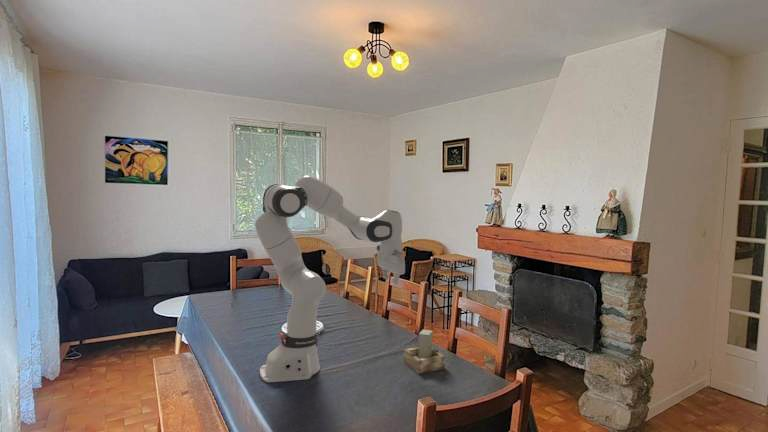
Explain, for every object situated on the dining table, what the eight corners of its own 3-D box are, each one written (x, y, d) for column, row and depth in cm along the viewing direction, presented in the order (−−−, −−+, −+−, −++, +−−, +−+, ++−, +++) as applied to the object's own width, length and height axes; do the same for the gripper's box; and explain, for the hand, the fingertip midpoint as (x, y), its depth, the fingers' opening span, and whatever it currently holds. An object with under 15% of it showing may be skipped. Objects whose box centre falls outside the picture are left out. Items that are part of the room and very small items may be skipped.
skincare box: (428, 365, 161) (429, 335, 161) (417, 363, 163) (418, 333, 162) (432, 359, 167) (433, 330, 166) (421, 357, 169) (422, 328, 168)
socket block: (417, 373, 157) (418, 359, 156) (403, 361, 167) (403, 348, 167) (444, 368, 161) (445, 354, 161) (429, 356, 172) (429, 344, 172)
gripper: (409, 251, 164) (408, 286, 165) (387, 245, 183) (387, 275, 184) (395, 252, 162) (394, 287, 163) (374, 245, 180) (374, 276, 181)
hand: (390, 281), depth 174 cm, fingers open, 8 cm apart
